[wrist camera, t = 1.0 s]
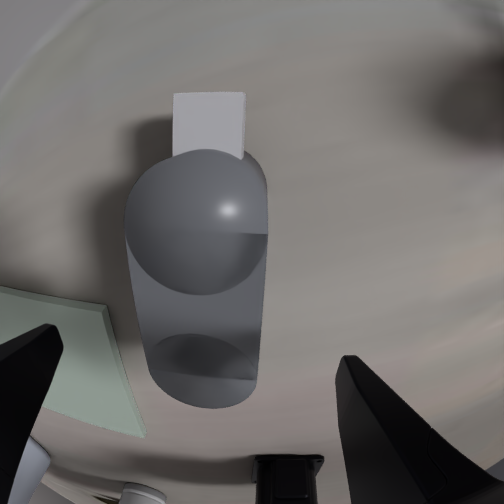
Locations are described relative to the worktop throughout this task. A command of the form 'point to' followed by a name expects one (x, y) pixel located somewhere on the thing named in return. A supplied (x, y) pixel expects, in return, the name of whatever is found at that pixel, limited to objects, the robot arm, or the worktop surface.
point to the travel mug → (141, 495)
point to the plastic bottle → (29, 472)
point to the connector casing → (201, 255)
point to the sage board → (77, 359)
